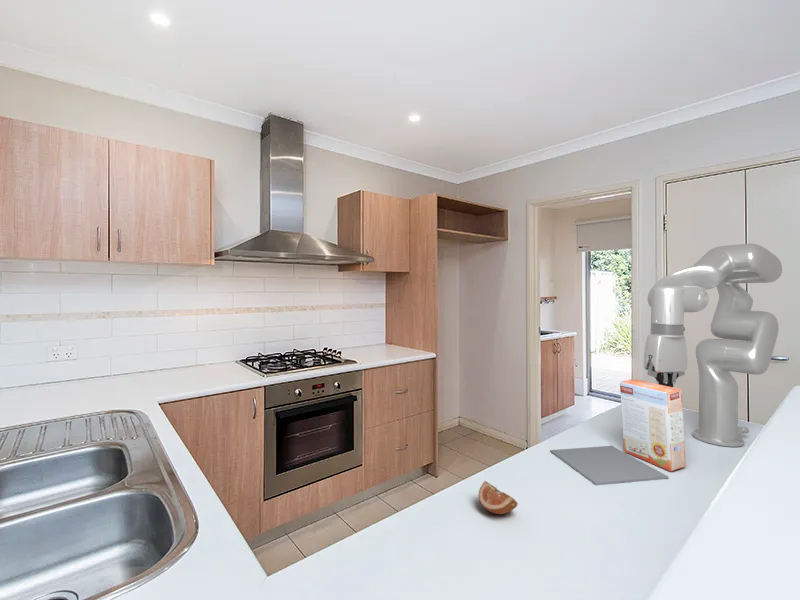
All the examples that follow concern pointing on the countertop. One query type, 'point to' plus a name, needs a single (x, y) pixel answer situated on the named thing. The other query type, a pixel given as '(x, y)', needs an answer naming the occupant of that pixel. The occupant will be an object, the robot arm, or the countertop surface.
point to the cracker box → (653, 423)
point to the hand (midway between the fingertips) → (665, 397)
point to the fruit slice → (495, 499)
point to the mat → (607, 465)
